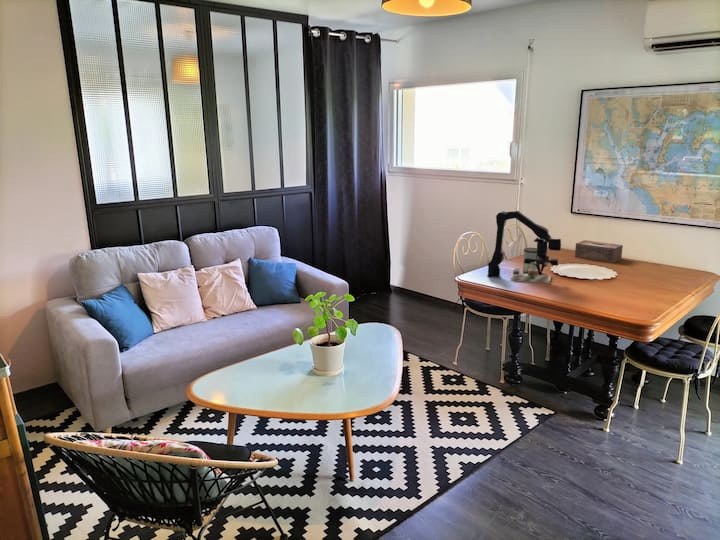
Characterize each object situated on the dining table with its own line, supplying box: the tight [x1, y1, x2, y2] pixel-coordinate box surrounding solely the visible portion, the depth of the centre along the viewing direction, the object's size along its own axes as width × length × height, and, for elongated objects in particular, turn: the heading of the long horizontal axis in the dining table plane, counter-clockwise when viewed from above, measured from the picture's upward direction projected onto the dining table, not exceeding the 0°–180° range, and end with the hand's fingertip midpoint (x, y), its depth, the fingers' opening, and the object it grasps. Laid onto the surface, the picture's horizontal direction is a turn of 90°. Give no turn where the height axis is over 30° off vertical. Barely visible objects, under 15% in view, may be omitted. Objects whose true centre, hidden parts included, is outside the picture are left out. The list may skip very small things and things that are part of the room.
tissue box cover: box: [574, 239, 623, 264], centre depth 355 cm, size 26×14×10 cm, turn 44°
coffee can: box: [522, 247, 539, 274], centre depth 324 cm, size 10×10×14 cm
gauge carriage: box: [522, 268, 539, 279], centre depth 307 cm, size 8×10×4 cm
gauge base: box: [510, 267, 552, 284], centre depth 308 cm, size 22×12×5 cm, turn 69°
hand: (540, 275), depth 305 cm, fingers closed
